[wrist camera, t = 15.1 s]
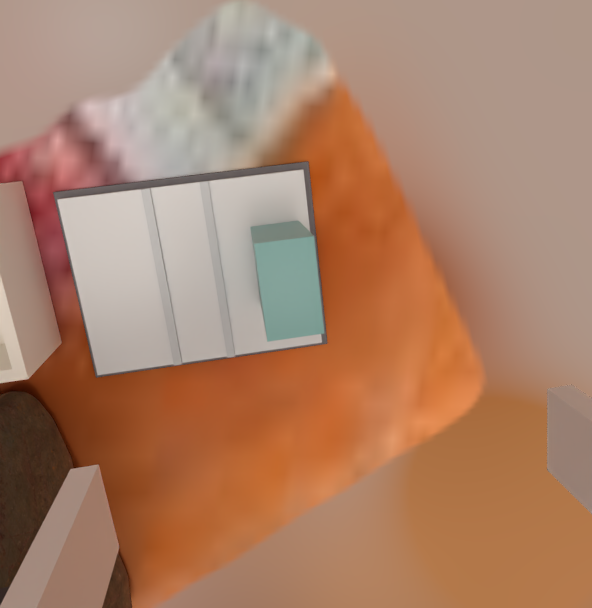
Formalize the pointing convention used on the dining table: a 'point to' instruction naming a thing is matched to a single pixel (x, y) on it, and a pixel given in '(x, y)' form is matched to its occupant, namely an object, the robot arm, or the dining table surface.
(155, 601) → the dining table surface
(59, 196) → the mat
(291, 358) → the dining table surface
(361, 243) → the dining table surface
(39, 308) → the tub
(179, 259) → the lid
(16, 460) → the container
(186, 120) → the dining table surface
